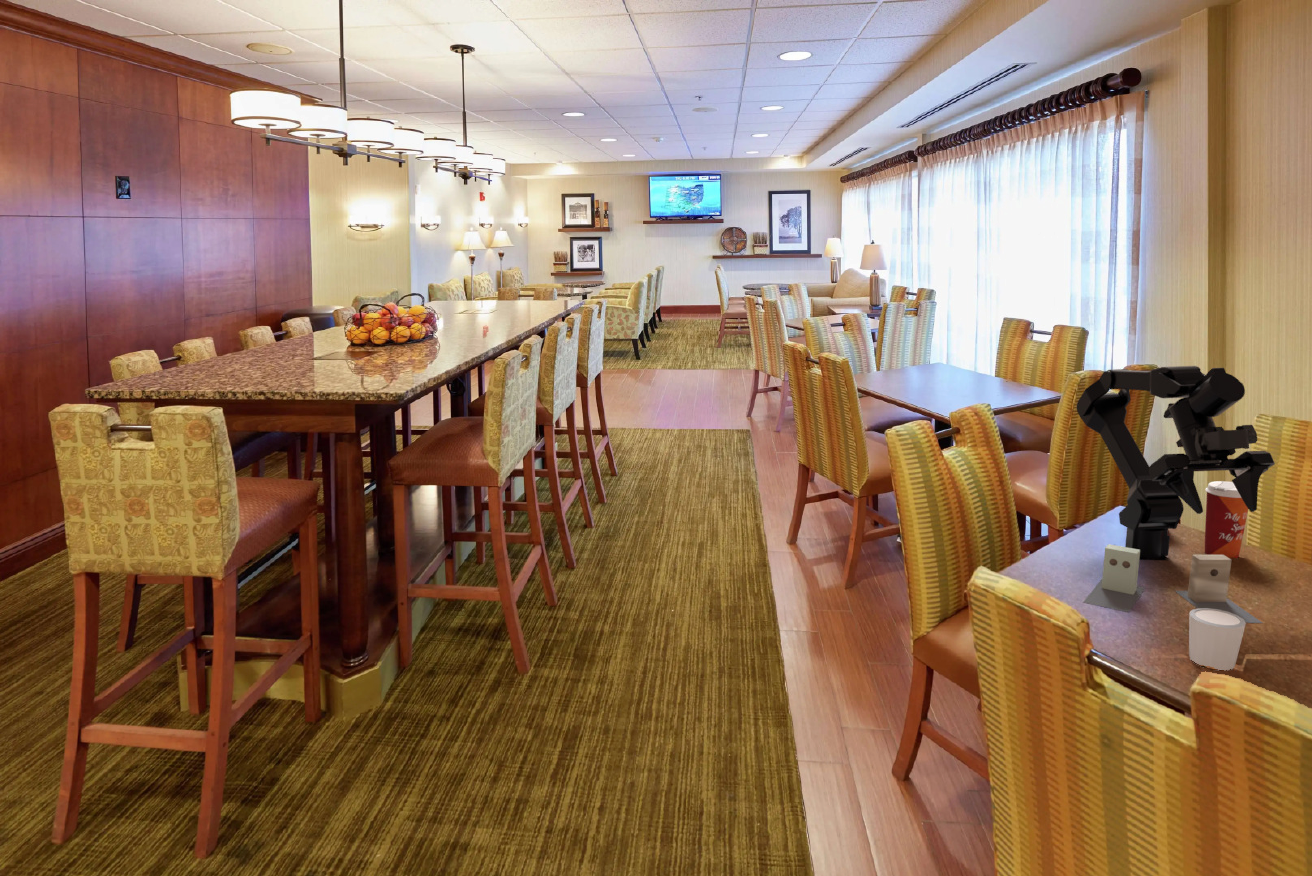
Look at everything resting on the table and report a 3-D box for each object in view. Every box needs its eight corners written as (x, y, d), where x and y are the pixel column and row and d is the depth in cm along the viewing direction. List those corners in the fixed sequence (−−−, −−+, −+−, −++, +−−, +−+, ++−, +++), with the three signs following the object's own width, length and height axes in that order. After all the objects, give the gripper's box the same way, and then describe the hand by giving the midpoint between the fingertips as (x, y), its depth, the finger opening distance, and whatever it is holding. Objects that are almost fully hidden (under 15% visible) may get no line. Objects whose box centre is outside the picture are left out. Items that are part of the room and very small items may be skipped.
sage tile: (1104, 584, 151) (1108, 544, 150) (1136, 590, 148) (1140, 549, 146) (1101, 588, 149) (1104, 548, 148) (1133, 594, 146) (1137, 553, 145)
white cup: (1185, 646, 128) (1190, 603, 127) (1240, 657, 125) (1246, 613, 123) (1182, 665, 123) (1187, 620, 121) (1239, 677, 119) (1245, 631, 118)
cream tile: (1187, 595, 145) (1192, 554, 143) (1218, 596, 145) (1223, 554, 143) (1195, 601, 143) (1200, 559, 141) (1226, 602, 142) (1231, 559, 141)
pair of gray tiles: (1098, 623, 137) (1099, 619, 137) (1060, 581, 154) (1060, 578, 154) (1263, 627, 134) (1263, 623, 134) (1205, 583, 151) (1205, 580, 151)
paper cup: (1230, 564, 160) (1239, 493, 157) (1189, 552, 167) (1197, 484, 164) (1254, 556, 164) (1263, 486, 161) (1212, 545, 170) (1220, 478, 167)
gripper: (1170, 409, 141) (1201, 495, 135) (1279, 405, 142) (1315, 491, 135) (1135, 439, 151) (1162, 520, 144) (1237, 435, 152) (1269, 516, 145)
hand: (1227, 512), depth 142 cm, fingers open, 9 cm apart
